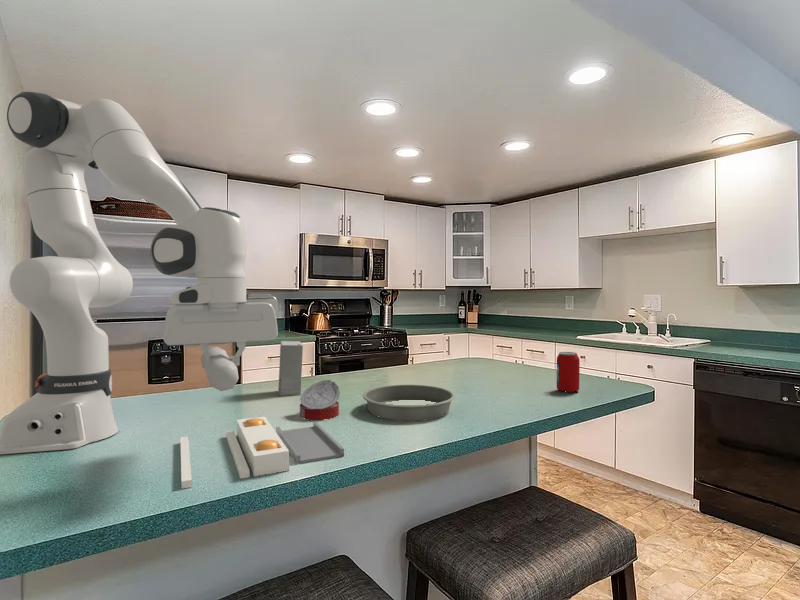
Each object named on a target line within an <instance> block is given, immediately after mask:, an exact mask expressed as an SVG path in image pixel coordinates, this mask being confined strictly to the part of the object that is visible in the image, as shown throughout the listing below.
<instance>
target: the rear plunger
mask: <svg viewBox="0 0 800 600" xmlns="http://www.w3.org/2000/svg"><path fill="white" fill-rule="evenodd" d="M254 418H255V419H249V420H246V421H245V427H252V426H260V425H263V419H258V418H256V417H254Z"/></svg>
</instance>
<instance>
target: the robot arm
mask: <svg viewBox="0 0 800 600" xmlns="http://www.w3.org/2000/svg"><path fill="white" fill-rule="evenodd" d="M6 111H7V112H6V121H7V125H8V127H9V130H10V132H11V134H12V135H13V136H14V137H15V138H16V139H17V140H19V141H21V142H22V143H24V144H27V145H29V146H31V147H32V148H31V149H29V150H28V151H27V152H26V153H25V155H24V159H23V180H24V181H23V182H24V188H25V189H24V190H25V196H26V200H27V204H28V209H29V214H30V218H31V222H32V226H33V231H34V233H35V234H36V236H37V237H38V238H39V239H40V240H41V241H43V242H44V243H45V244H47V245H48V246H50V248H52V250H53V251H54V252H55V253H56V254H57V256H56V255H55V256H53V255H46V256H38V257H31V258H26V259H23V260H21V261H20V262H18V263H17V264H16V265H15V266H14V268H13V270H12V271H11V274H10V276H9V288H10V291H11V293H12V296H13V297H14V299H15V300H16V301H17V302H18V303H19V304H20V305H22V306H24V307H25V308H27V309H28V310H29V311H30V312H31V313H32V315H34V317H35V318H36V320H37V321H38V324H39V325H40V327H41V330H42V333H43V336H44V339H45V348H46V365H47V373H45V372H44V373H42V374H40V375H39V376H38V377H37V379H36V380H35V382H34V383H35V384H34V385H35V386H34V387H35V391H36V393H35V394H33V396H30V398H28V399H27V400H26V401H24V402H22V403H21V404H20V405H19V406H17V407H16V408H14V409H13V410H12V411H10V413H8V414H7V416H6V417H5V419H4V421H3V422H2V426H1V432H0V455H10V454H21V453H22V454H23V453H33V452H35V453H37V452H47V451H49V452H50V451H61V450H72V449H77V448H81V447H82V446H85V445H88V444H91V443H95V442H97V441H101V440H103V439H108V438H110V437H111V436H113V435H116V434H117V433H118V432H119V427H118V424H117V423H116V419H115V416H114V411H113V406H112V405H113V404H112V398H111V395H112V392H113V375H112V370H111V369H110V365H109V363H110V359H109V355H110V354H109V353H110V352H109V349H110V348H109V336H108V335H107V333H106V331H104V330H103V329H102V328H100V327H98V326H97V325H96V324H95V322H94V320H93V319H92V316H91V313H90V309H92V308H95V309H96V308H106V307H110V306H114V305H117V304H120V303H123V302H124V301H126V300H127V299H128V298H129V297H130V295H131V294H132V292H133V286H134V281H133V276H132V274H131V272H130V271H129V270H128V269H127V267H125V266H123V265H122V264H121V263H120V262H119V261H118V260H117V259H116V258H115V257H114V256H113V254H112V253H111V251H110V250H109V249H108V247H107V245H106V244H105V242H104V240H103V238H102V236H101V235H100V231H99V230H98V228H97V224H96V222H95V217H94V213H93V209H92V205H91V201H90V197H89V196H90V195H89V193H88V188H87V184H86V181H85V170H86V168H87V167H88V166H89V167H90V168H92V169H96V170H98V169H99V171H100V173H101V174H102V175H103V176H104V177H105V178H106V179H107V181H108V182H110V183H111V184H112V185H113V186H114V187H116V188H117V189H119V190H120V191H123V192H126V193H128V194H130V195H133V196H135V197H137V198H140V199H143V200H144V201H148V202H149V203H151V204H153V205H155V206H157V207H159V208H160V209H161V210H163V211H165V212H166V213H167V214H168V215H169V216H170V217H171V219H172V220H173V222H175V224H176V225H173V226H171V227H170V226H169V227H165V228H162V229H160V231H158V232H157V233H156V234H155V236H154V237H153V239H152V240H151V241H152V242H151V245H150V258H151V261H152V264H153V265H154V267H155V269H157V271H158V272H160V273H161V274H162V275H165V276H169V277H173V278H174V277H175V278H188V279H196V284H195V285H194V286H187V287H185V288H184V289H181V290H177V291H174V292H173V293H171V294H170V302H171V303H172V304H173V305H171V307H170V308H169V309H168V310H167V311H166V314H165V315H166V316H165V318H164V319H165V320H164V326H163V342H164V343H165V344H166V345H167V346H186V345H199V347H200V351H201V352H202V353H203V354H204V355H205V357H206V358H207V363H208V362H209V360H210V358H211V357H210V355H209V354H208V352H207V351H206V350H207V349H209V348H210V344H221V343H223V344H224V343H225V344H226V343H236V347H237V348H238V349H237V351H236V353H235V355H230V359H231V360H232V361H233V363H234V364H235V365H236V367H238V366H240V362H241V361H240V359H241V358H240V357H241V356H242V354H243V353H244V351H245V349H246V343H247V342H263V341H264V342H265V341H274V340H276V339H277V337H278V335H279V330H278V321H277V317H276V316H277V313H279V302H278V299H277V297H275V296H274V295H272V294H270V293H255V292H254V293H247V274H246V272H245V271H246V270H245V261H246V256H247V248H246V246H247V245H246V244H247V243H246V232H245V226H244V223H243V219H242V217H241V216H240V215H239V214H237V213H236V212H235V211H234V212H233V211H230V210H226V209H220V208H216V207H201V205H200V204H199V202H198V201H197V200H196V198H195V197H194V196H193V195H192V193H191V192H190V190H189V189H188V188H187V187H186V185H184V183H182V181H181V179H179V178H178V177H177V175H176V174H175V173H174V172H173V171H172V170H171V169H170V167H169V166H168V164H166V162H165V161H164V160H163V158H162V157H161V155H160V154H159V153H158V152H157V150H156V148H155V147H154V145H153V144H152V142H151V141H150V139H149V138H148V137H147V135H146V133H145V132H144V130H143V129H142V128H141V126H140V125H139V123H138V122H137V121H136V120H135V118H134V117H133V116H132V115H131V114H130V113H129V112H128V111H127V110H126V109H125V107H124V106H122V105H121V104H120V103H118V102H116V101H115V100H112V99H110V98H94V99H91V100H88V101H86V102H85V103H84V104H81V103H77V102H72V101H68V100H65V99H63V98H57V97H53V96H51V95H48V94H46V93H42V92H35V91H22V92H20V93H17V94H16V95H15V96H14V97H12V98H11V100H10V102H9V103H8V106H7V110H6ZM89 308H90V309H89ZM203 354H202V355H203Z"/></svg>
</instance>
